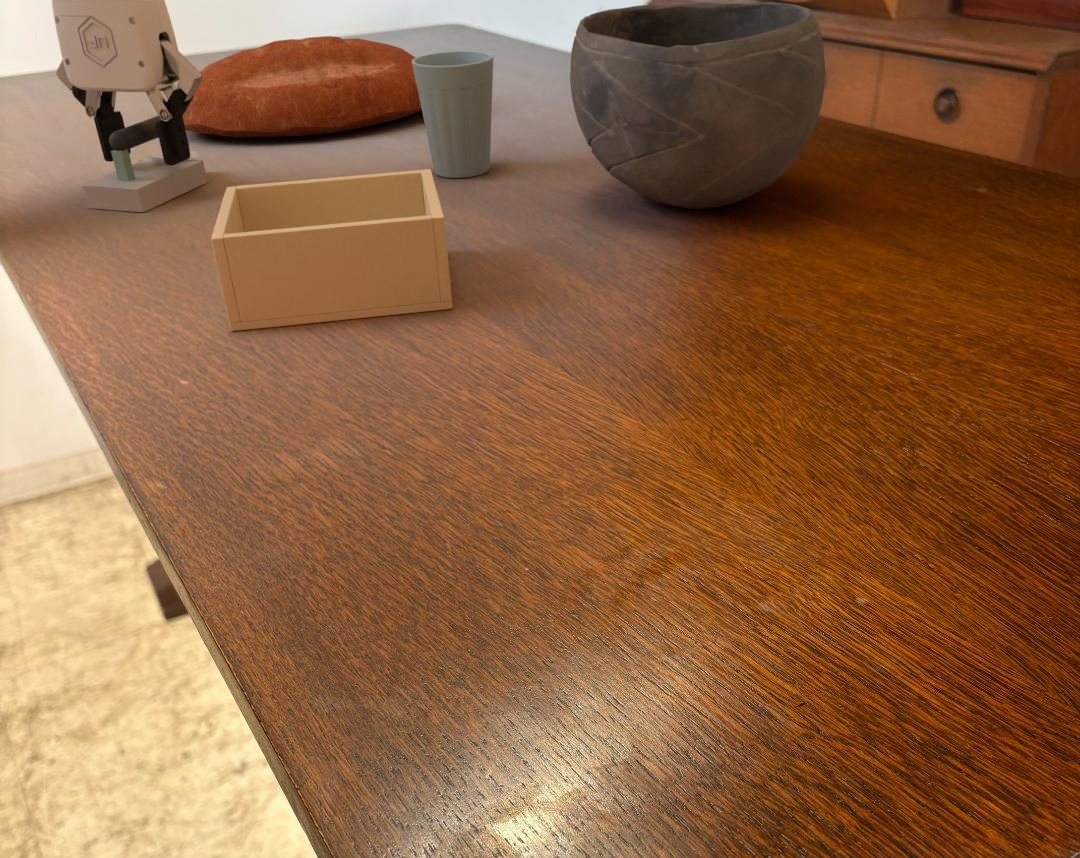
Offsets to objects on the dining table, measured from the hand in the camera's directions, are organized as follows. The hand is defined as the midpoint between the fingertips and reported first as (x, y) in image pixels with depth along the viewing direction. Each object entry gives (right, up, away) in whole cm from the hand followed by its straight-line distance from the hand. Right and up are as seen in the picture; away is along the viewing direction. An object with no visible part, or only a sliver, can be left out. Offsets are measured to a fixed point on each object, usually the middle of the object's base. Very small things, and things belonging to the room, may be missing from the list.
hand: (147, 158), depth 104 cm
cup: (+30, 0, +3) cm, 30 cm away
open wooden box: (+23, -18, -23) cm, 37 cm away
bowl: (+51, -7, -8) cm, 52 cm away
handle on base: (0, -2, +2) cm, 3 cm away
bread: (+11, +13, +25) cm, 30 cm away
